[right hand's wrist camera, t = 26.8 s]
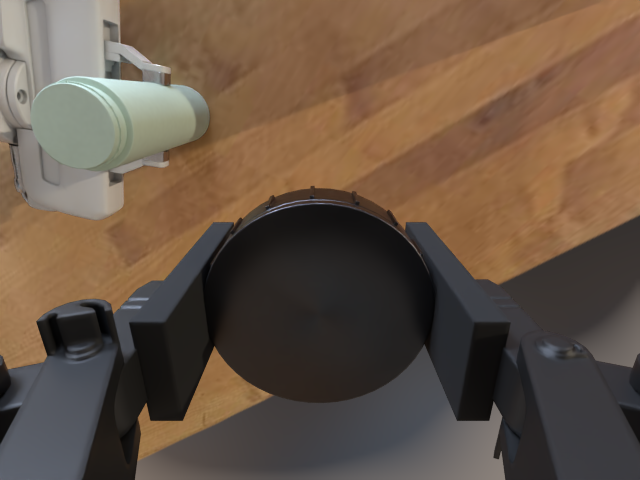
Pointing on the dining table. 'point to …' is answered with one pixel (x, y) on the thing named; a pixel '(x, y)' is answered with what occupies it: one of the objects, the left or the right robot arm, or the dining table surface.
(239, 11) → the dining table surface
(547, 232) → the dining table surface
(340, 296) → the lid
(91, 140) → the jar
